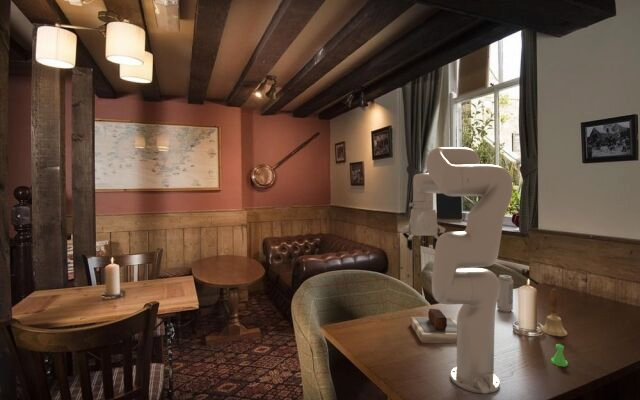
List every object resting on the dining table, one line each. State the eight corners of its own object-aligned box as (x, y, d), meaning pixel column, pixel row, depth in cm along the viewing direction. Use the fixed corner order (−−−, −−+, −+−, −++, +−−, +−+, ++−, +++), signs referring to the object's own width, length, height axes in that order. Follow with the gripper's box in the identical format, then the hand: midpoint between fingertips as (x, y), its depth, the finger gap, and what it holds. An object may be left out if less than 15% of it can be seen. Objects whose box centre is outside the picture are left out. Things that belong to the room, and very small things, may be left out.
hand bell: (538, 332, 133) (539, 289, 132) (543, 325, 139) (544, 284, 138) (565, 338, 127) (566, 294, 126) (569, 331, 133) (570, 288, 132)
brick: (447, 330, 126) (447, 317, 126) (435, 330, 126) (435, 317, 126) (438, 319, 137) (438, 307, 137) (427, 319, 137) (428, 307, 137)
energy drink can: (499, 307, 159) (500, 273, 158) (514, 310, 155) (515, 276, 154) (494, 310, 155) (495, 276, 154) (510, 314, 151) (510, 278, 150)
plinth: (468, 342, 124) (468, 333, 124) (422, 342, 124) (422, 333, 124) (451, 324, 140) (452, 316, 140) (410, 324, 140) (410, 316, 140)
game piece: (549, 363, 110) (549, 343, 110) (552, 358, 113) (553, 339, 113) (566, 368, 107) (566, 348, 107) (569, 363, 110) (569, 343, 110)
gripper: (402, 206, 136) (402, 251, 137) (448, 206, 136) (448, 251, 136) (398, 205, 143) (398, 247, 144) (442, 205, 143) (441, 247, 144)
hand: (422, 249), depth 140 cm, fingers open, 9 cm apart
